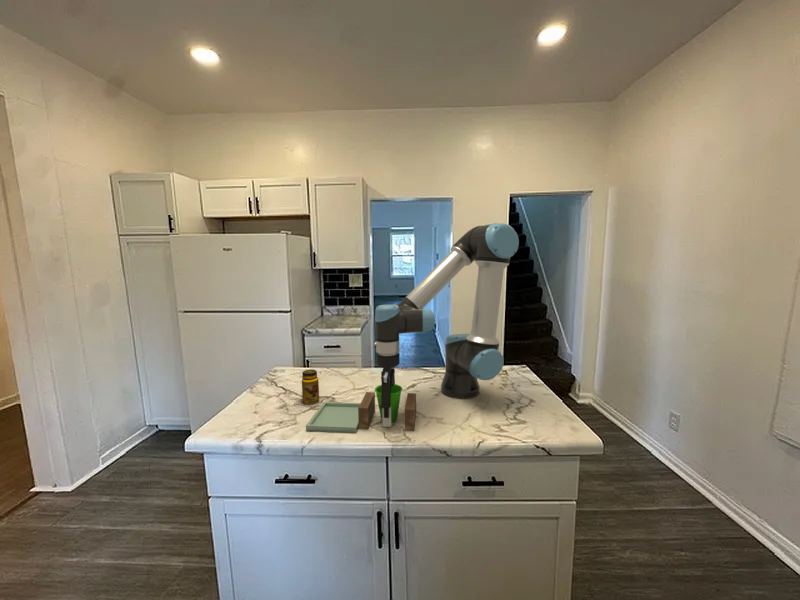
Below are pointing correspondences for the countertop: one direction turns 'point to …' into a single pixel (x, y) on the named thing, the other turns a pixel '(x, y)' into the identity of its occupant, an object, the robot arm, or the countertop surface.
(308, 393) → the condiment
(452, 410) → the countertop surface
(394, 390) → the cup
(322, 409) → the tray
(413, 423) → the holder
